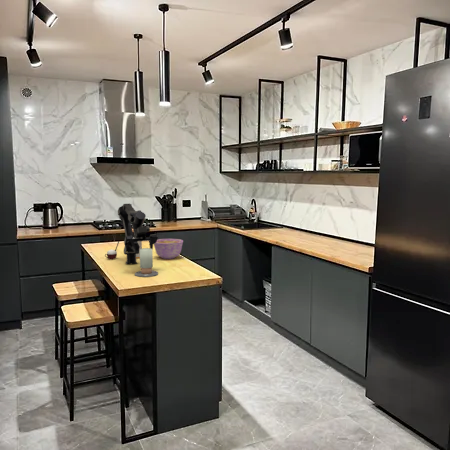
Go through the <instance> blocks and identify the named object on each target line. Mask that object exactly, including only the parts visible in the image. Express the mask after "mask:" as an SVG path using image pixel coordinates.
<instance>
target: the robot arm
mask: <svg viewBox="0 0 450 450" xmlns="http://www.w3.org/2000/svg"><path fill="white" fill-rule="evenodd" d="M117 215H118V218H119V220H120V221H122V225H123V229H124V234H125V237H124V240H123V244H124V247H123V254H124V255H125V256H126V261H125V264H126V265H137V264H138V262H137V258H136V254H139V248H140V246H139V244H138V242H137V241H142V242H148V244H149V248H151V249H152V251H153V249H154V243H156V241H157V240H158V239H159V238H158V234H156V233H154V234H150V235H149V236H148V237H146V236H147V233H150V231H151V228H150V226H149V225H146V226H143V225H144V224H145V223H144V222H145V219H146V217H147V216H146V213H145V212H143V211H142V210H136V209H135V208H134V207H133V206H132V203H123V204H122V205H121V206H119V207H118V209H117ZM131 223H132V224H131Z"/></svg>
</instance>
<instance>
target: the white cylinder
mask: <svg viewBox="0 0 450 450" xmlns="http://www.w3.org/2000/svg"><path fill="white" fill-rule="evenodd" d="M153 254H154V253H153V250H152V249H151V248H150V247H149V248H148V247H147V248H146V247H142V249H140V258H139V267H140V269H141V268H151V267H152V268H153V265H154V264H153V262H154V261H153V260H154V259H153Z"/></svg>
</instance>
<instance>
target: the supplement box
mask: <svg viewBox="0 0 450 450" xmlns="http://www.w3.org/2000/svg"><path fill="white" fill-rule="evenodd" d="M137 242H138V244H139V246H140V248H139V254H136V259H140V249H143V241H137Z"/></svg>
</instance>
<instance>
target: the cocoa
mask: <svg viewBox="0 0 450 450" xmlns="http://www.w3.org/2000/svg"><path fill="white" fill-rule="evenodd" d="M119 243H120V241H119V240H117V244H116V247H115V249H112V248H111V249H108V251H106V253H105V255H104V257H105V258H107V259H109V260H115V259H116V258H117V254H118V251H117V250H118V246H119Z"/></svg>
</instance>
